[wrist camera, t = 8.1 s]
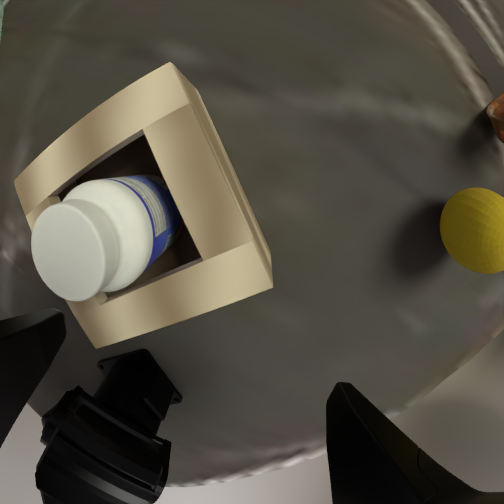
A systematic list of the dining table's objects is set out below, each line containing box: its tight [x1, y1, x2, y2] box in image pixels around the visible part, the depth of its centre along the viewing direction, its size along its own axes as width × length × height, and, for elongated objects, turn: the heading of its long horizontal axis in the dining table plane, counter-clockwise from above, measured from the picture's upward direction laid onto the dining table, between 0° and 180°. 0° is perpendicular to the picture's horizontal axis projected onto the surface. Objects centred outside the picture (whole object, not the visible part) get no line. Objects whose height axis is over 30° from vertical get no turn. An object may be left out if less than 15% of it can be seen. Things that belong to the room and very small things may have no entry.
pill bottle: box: [31, 174, 184, 302], centre depth 14 cm, size 5×5×10 cm
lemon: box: [440, 188, 504, 274], centre depth 14 cm, size 6×6×8 cm
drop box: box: [14, 62, 273, 349], centre depth 16 cm, size 12×12×6 cm
